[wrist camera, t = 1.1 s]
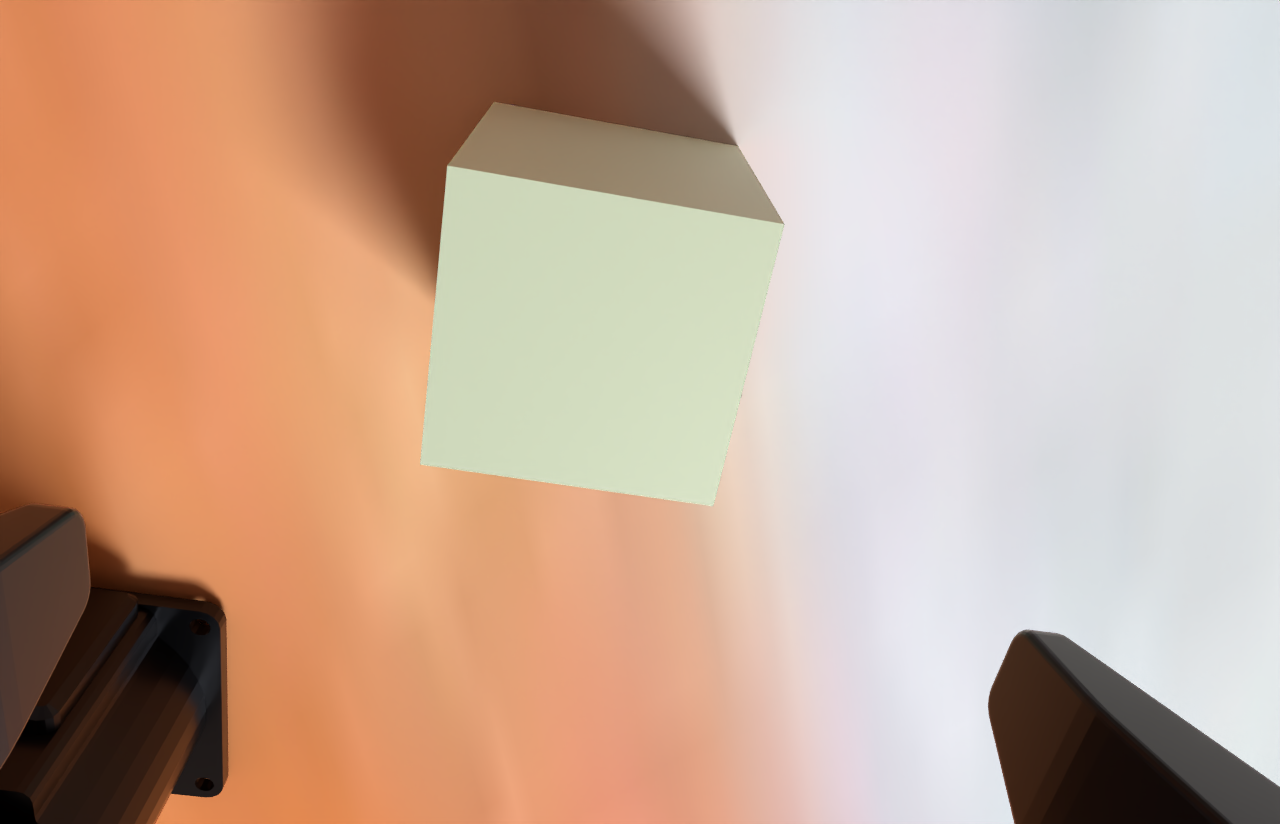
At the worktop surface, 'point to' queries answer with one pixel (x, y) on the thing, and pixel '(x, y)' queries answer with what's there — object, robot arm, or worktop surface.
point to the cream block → (595, 304)
